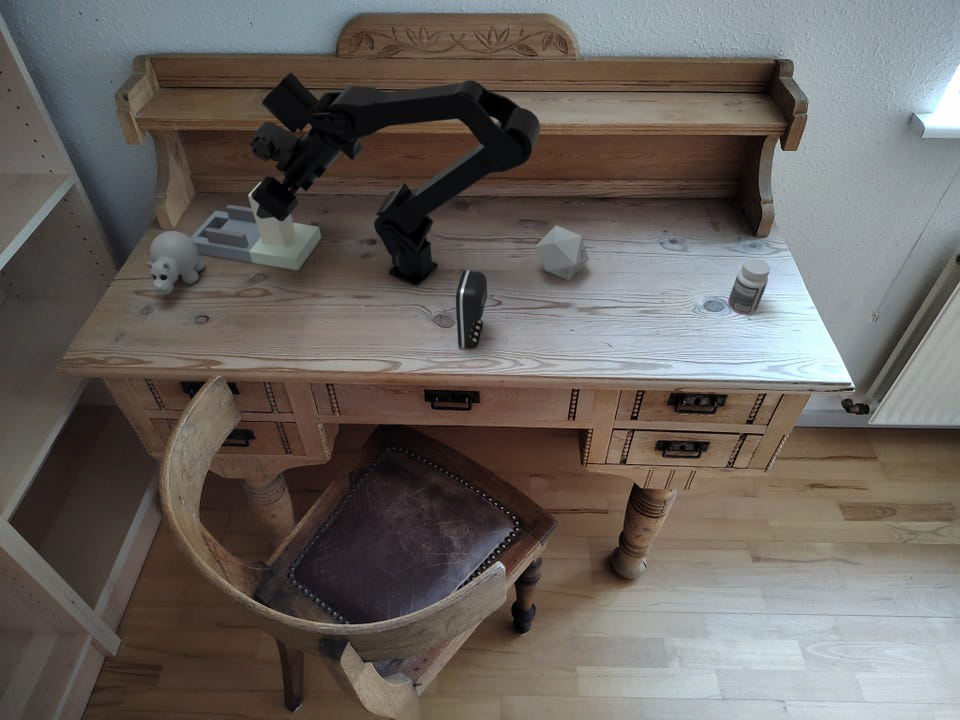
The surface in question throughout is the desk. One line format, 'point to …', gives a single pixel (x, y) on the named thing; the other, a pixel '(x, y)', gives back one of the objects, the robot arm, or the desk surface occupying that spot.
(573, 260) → the die
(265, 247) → the channel
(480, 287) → the battery charger
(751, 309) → the pill bottle
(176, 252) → the grey rounded figurine
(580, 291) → the desk surface
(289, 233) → the block
